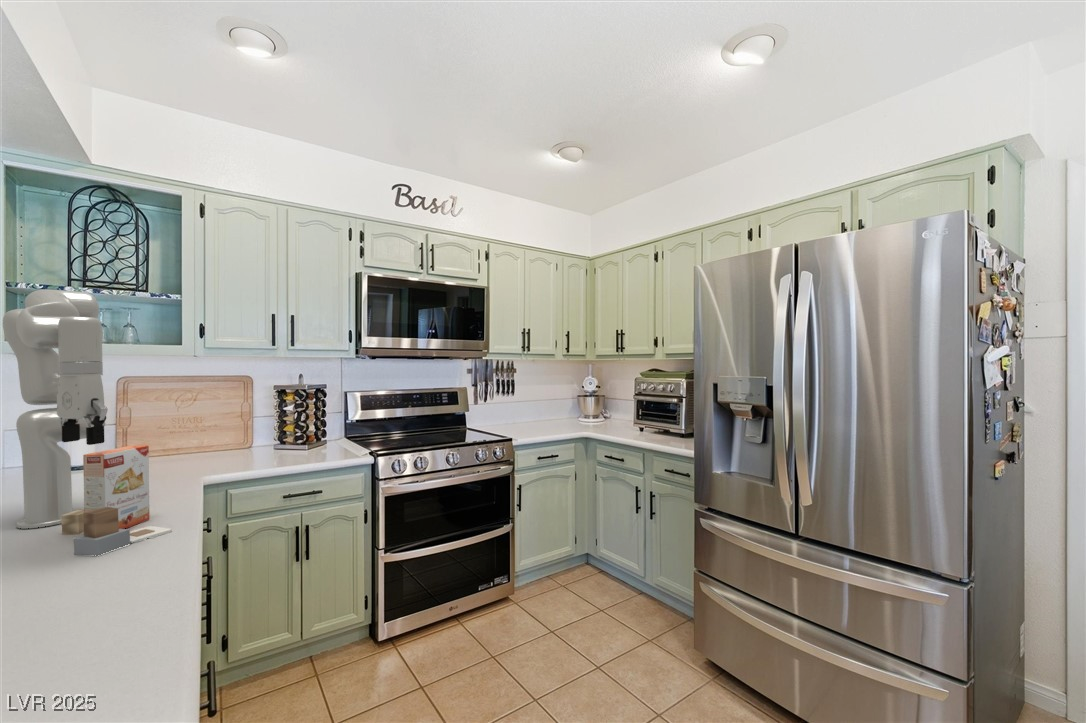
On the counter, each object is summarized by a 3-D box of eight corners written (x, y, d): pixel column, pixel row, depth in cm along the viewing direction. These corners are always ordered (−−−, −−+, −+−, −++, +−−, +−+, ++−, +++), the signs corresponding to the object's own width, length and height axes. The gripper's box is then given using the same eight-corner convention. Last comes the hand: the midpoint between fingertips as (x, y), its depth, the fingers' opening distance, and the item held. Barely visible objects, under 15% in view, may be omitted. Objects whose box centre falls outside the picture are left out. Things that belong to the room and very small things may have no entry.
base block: (74, 555, 113) (73, 538, 113) (107, 544, 120) (107, 528, 120) (97, 557, 111) (97, 540, 111) (130, 546, 118) (129, 529, 118)
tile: (109, 539, 122) (109, 536, 122) (150, 528, 131) (150, 525, 131) (131, 543, 119) (131, 540, 119) (172, 531, 127) (171, 528, 127)
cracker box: (107, 537, 124) (104, 453, 124) (83, 537, 125) (80, 454, 125) (152, 519, 138) (149, 444, 138) (130, 519, 139) (128, 444, 139)
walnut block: (84, 536, 114) (83, 512, 114) (107, 529, 118) (106, 506, 118) (95, 538, 113) (94, 514, 113) (118, 531, 117) (117, 508, 117)
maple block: (62, 534, 128) (61, 515, 128) (79, 528, 132) (78, 510, 132) (78, 534, 128) (78, 514, 128) (95, 528, 132) (94, 509, 132)
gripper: (39, 370, 116) (41, 443, 117) (83, 370, 110) (85, 447, 110) (79, 368, 123) (81, 437, 123) (122, 369, 117) (124, 442, 117)
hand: (83, 442), depth 117 cm, fingers open, 9 cm apart
